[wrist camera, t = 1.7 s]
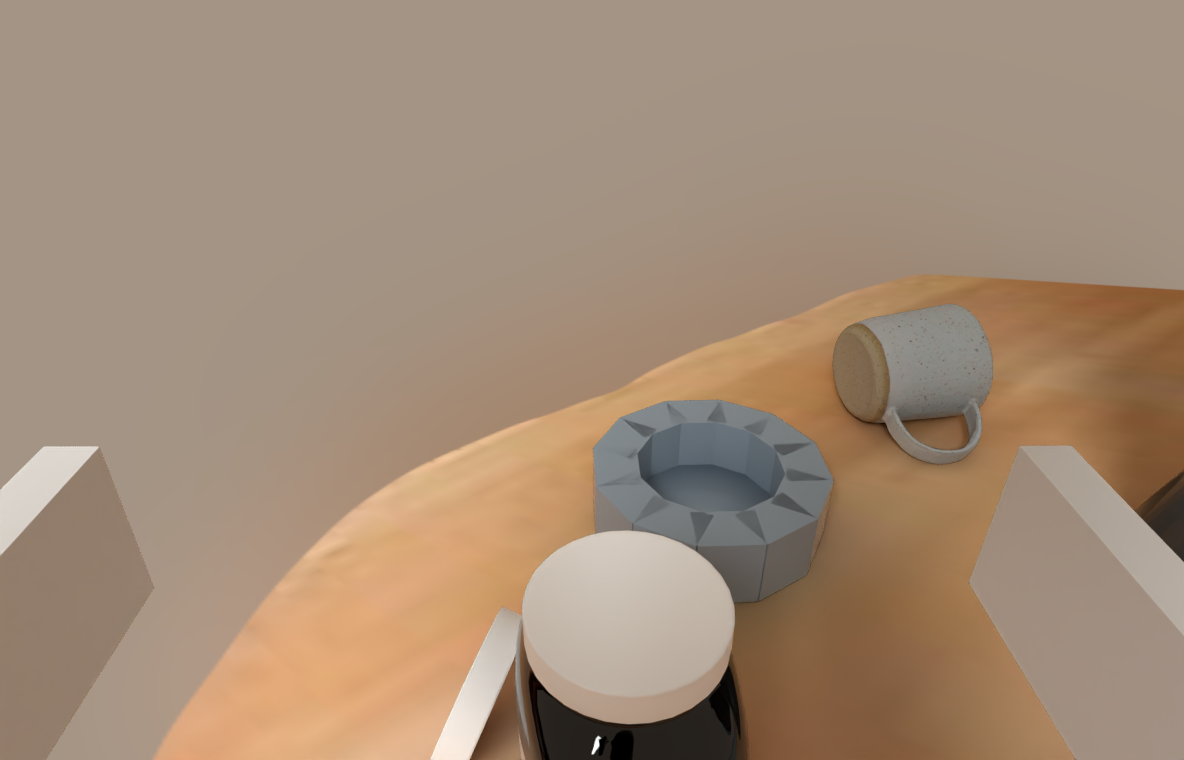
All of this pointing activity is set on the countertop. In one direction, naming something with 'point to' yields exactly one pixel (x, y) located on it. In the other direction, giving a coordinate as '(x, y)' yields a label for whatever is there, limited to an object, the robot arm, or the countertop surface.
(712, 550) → the slate bowl
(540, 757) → the spread jar
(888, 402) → the ceramic mug
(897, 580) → the countertop surface
